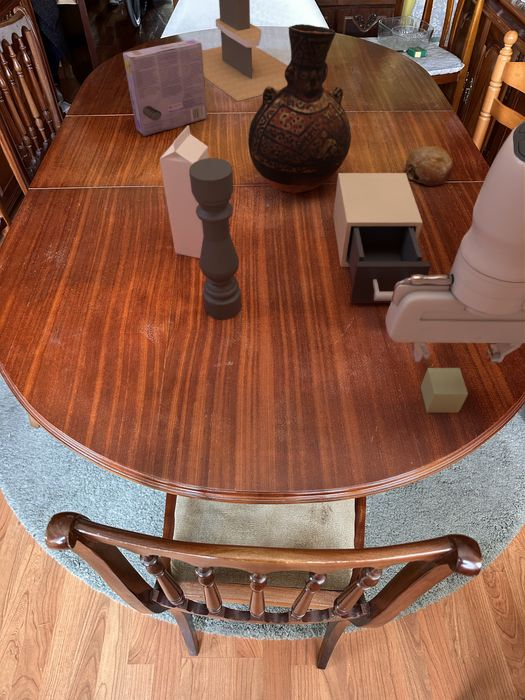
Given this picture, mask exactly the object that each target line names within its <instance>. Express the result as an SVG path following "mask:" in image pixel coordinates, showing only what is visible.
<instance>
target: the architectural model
mask: <svg viewBox="0 0 525 700" xmlns="http://www.w3.org/2000/svg"><path fill="white" fill-rule="evenodd" d="M218 7H219V9H218V10H219V18H216V19H215V27H216V28H217V29H218V30H220V40H221V45H220V46H217V47H212V48H211V47H210V48H208V49H202V54H203V71H204V79H206V80H207V81H209V82H211V83H212V84H213V85H215V86H216V87H218V88H219V89H220V90H221V91H223V92H224V93H225V94H227V95H229V97H231V98H232V99H234V100H235V101H236V102H240V101H241V102H242V101H244V100H248V99H251V98H255V97H259V96H263V92H264V89H265V88H266V87H267V86H271V87H273V88H274V89H275V90H277V91H280V90H281V89H282V88H284V87H286V86H287V81H286V79H285V70H286V68H287V66H288V65H289V64H286V63H285V62H283V61H281V60H280V59H278V58H277V57H274V56H273V55H271V54H269V53H268V52H266V51H265V50H262V49H261V48H259V47H258V46H260V42H261V38H262V29H260V28H259V27H258V26H256V25H253V24H252V23H251V2H250V0H218Z"/></svg>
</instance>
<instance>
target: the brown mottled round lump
mask: <svg viewBox="0 0 525 700" xmlns="http://www.w3.org/2000/svg"><path fill="white" fill-rule="evenodd" d="M453 168H454V162H453V159H452V156H451V155H450V153H449V152H448V151H447V149H445V148H443V147H442V146H440V145H431V146H423V147H422V146H421V147H417V148H415V149H414V150H413V151H411V152H410V153H409V155H408V157H407V158H406V161H405V173H406V175H407V178H408V180H410V181H413V182H416V183H418V184H422V185H425V186H428V187H435V186H440V185H443V184H445V183H446V182H447V180H448V178H450V175H451V173H452V171H453Z"/></svg>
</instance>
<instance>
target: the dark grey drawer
mask: <svg viewBox="0 0 525 700" xmlns="http://www.w3.org/2000/svg"><path fill="white" fill-rule="evenodd" d="M347 255H348V261H349V267H348V268H349V273H350V279H351V290H350V295H349V299H350V303H355V304H356V303H359V304H361V303H363V304H364V303H367V304H368V303H371V304H372V303H373V304H374V303H379V304H380V303H381V304H382V303H385V304H387V303H388V304H391V302H392V295H393V291H394V288H395V285H396V284H397V283H398V282H400V281H402V280H404V279H407V278H410V276H411V275H416V274H421V275H429V273H430V270H431V264H430V263H431V262H430V261H428V260H427V261H426V260H425V261H423V254H422V251H421V247H420V244H419V240H418V241H417V238H416V235H415V231H414V228H413V226H351V231H350V237H349V244H348V250H347Z"/></svg>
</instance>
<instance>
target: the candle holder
mask: <svg viewBox="0 0 525 700" xmlns="http://www.w3.org/2000/svg"><path fill="white" fill-rule="evenodd" d="M233 170H234V169H233V165H232V164H231V163H230V162H229V161H228V160H226V159H223V158H218V157H209V158H207V159H201V160H199V161H197V162H194V163H193V164H192V165H191V166H190V169H189V175H190V183H191V191H192V194H193V196H194V198H195V199H196V201H197V202H198V204H199V205H198V206H197V207H196V214H197V216H198V218H199V219H200V220H202V227H203V242H202V249H201V255H200V258H199V261H198V265H199V266H198V267H199V269H200V270H201V273H202V275H203V276H204V277H205V278H206V279H205V281H204V282H203V290H202V298H203V306H204V310H205V313H206V315H208V317H210V318H212V319H214V320H215V319H216V320H229V319H232V318H234V317H236V316H237V315H239V313H240V312H241V310H242V292H241V288H240V286H239V285H240V283H239V281H238V279H237V277H236V276H235V275H236V273H237V272H238V270H239V267H240V266H239V265H240V258H239V256H238V253H237V250H236V247H235V245H234V242H233V239H232V236H231V232H230V218H231V217H232V216H233V213H234V212H233V211H234V207H233V205H232V203H230V200H231V199H232V196H233V194H234V171H233Z"/></svg>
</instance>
